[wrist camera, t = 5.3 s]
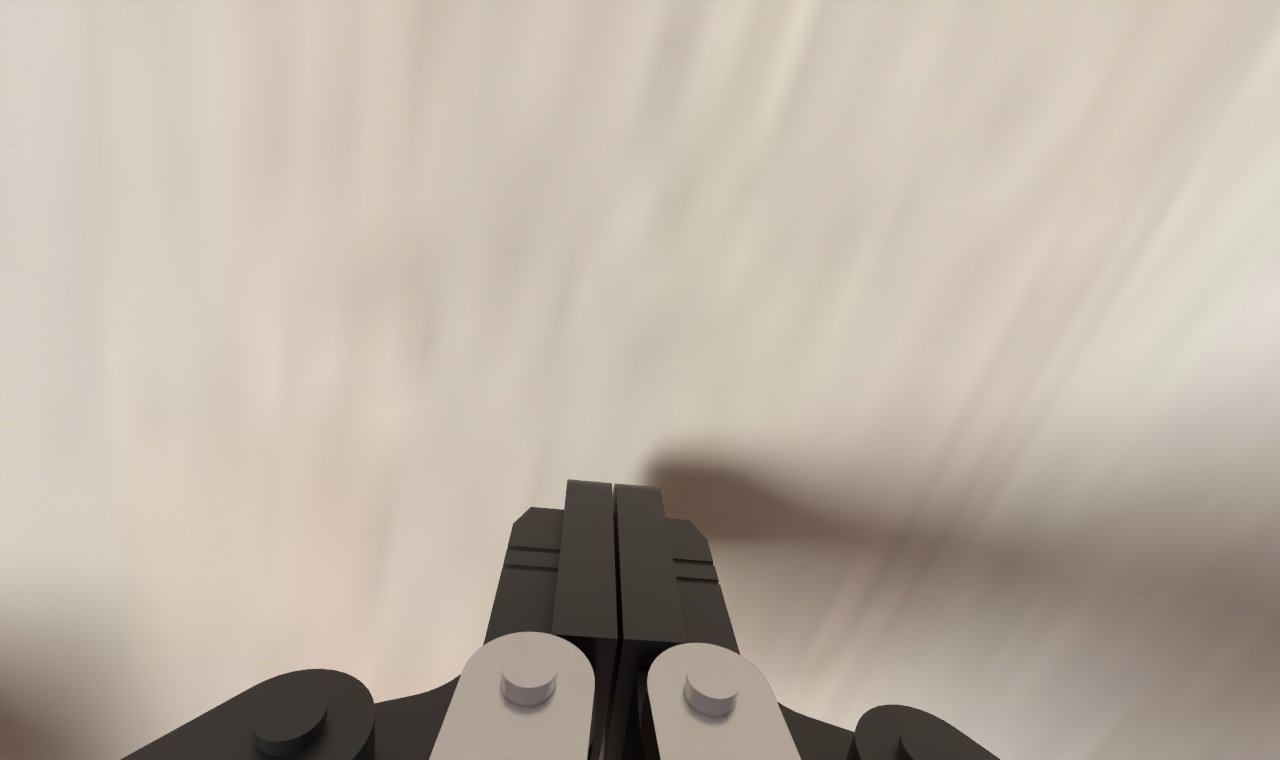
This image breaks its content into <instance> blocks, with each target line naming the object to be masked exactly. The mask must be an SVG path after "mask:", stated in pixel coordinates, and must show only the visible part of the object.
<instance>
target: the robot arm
mask: <svg viewBox="0 0 1280 760" xmlns="http://www.w3.org/2000/svg"><path fill="white" fill-rule="evenodd" d="M121 760H1000V759H999V758H997V757H996V756H995V755H993V754H992V753H990V752H989V751H987V750H986V749H985V748H983V747H982V746H980V745H979V744H977V743H976V742H975V741H973V740H972V739H970V738H969V737H967V736H966V735H965V734H963V733H962V732H960V731H959V730H957V729H956V728H955V727H953V726H951V725H950V724H948V723H947V722H945V721H944V720H942V719H940V718H938V717H936V716H934V715H932V714H929V713H927V712H924V711H922V710H919V709H916V708H912V707H908V706H902V705H883V706H878V707H875V708H872V709H870V710H869V711H867V712H866V713H864V714H863V716H862V717H861V718H860V719H859V722H858V724H857V727H856V730H855V732H852V731H849V730H846V729H843V728H840V727H837V726H834V725H831V724H828V723H825V722H822V721H819V720H816V719H813V718H810V717H807V716H804V715H802V714H799V713H797V712H795V711H793V710H791V709H789V708H787V707H785V706H783V705H782V704H780V703H779V702H777V701H776V698H775V696H774V693H773V691H772V689H771V687H770V685H769V683H768V681H767V680H766V678H765V677H764V676H763V674H762V673H761V672H760V671H759V670H758V669H757V668H756V667H755V666H754V665H753V664H752V663H751V662H749V661H748V660H747V659H745V658H744V657H742V656H740V653H739V649H738V646H737V642H736V639H735V636H734V632H733V629H732V625H731V622H730V618H729V615H728V611H727V608H726V604H725V601H724V597H723V594H722V590H721V587H720V585H718V577H717V573H716V570H715V566H713V559H712V556H711V552H710V549H709V545H708V542H707V539H706V538H705V537H704V536H703V535H702V534H701V533H700V532H699V531H698V530H697V529H696V528H695V527H694V525H693V524H692V523H691V522H690V521H688V520H677V519H665V514H664V509H663V504H662V498H661V493H660V489H659V488H658V487H647V486H636V485H625V484H615V485H614V489H613V494H612V484H611V483H602V482H591V481H580V480H569V479H568V481H567V490H566V499H565V508H564V510H560V509H548V508H537V507H531V508H530V509H528V510H527V511H526V512H525V513H524V514H523V515H522V516H521V517H520V518H519V519H518V520H517V521H516V522H515V523H514V524H513V527H512V531H511V535H510V539H509V543H508V549H507V551H506V555H505V560H504V564H503V568H502V572H501V576H500V580H499V584H498V588H497V592H496V596H495V600H494V604H493V608H492V612H491V616H490V621H489V625H488V629H487V633H486V637H485V641H484V644H483V646H482V647H481V648H479V649H478V650H477V651H476V652H475V653H474V654H473V655H472V656H471V658H470V659H469V660H468V661H467V663H466V665H465V667H464V669H463V671H462V674H461V675H459V676H458V677H456V678H455V679H453V680H452V681H450V682H448V683H446V684H444V685H443V686H441V687H438V688H436V689H433V690H431V691H428V692H425V693H421V694H417V695H413V696H409V697H404V698H399V699H394V700H389V701H385V702H380V703H375V704H374V701H373V698H372V696H371V694H370V692H369V690H368V689H367V688H366V687H365V685H364V684H363V683H362V682H360V681H359V680H357V679H356V678H355V677H353V676H350V675H348V674H346V673H343V672H339V671H335V670H327V669H307V670H300V671H294V672H290V673H286V674H282V675H279V676H276V677H274V678H271V679H268V680H266V681H264V682H262V683H260V684H258V685H255V686H253V687H252V688H250V689H248V690H246V691H244V692H242V693H241V694H239V695H237V696H235V697H233V698H232V699H230V700H228V701H226V702H224V703H222V704H221V705H219V706H217V707H215V708H213V709H212V710H210V711H208V712H206V713H204V714H203V715H201V716H199V717H197V718H195V719H193V720H192V721H190V722H188V723H186V724H184V725H183V726H181V727H179V728H177V729H175V730H173V731H172V732H170V733H168V734H166V735H164V736H163V737H161V738H159V739H157V740H155V741H153V742H152V743H150V744H148V745H146V746H144V747H143V748H141V749H139V750H137V751H135V752H134V753H132V754H130V755H128V756H126V757H124V758H123V759H121Z"/></svg>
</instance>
